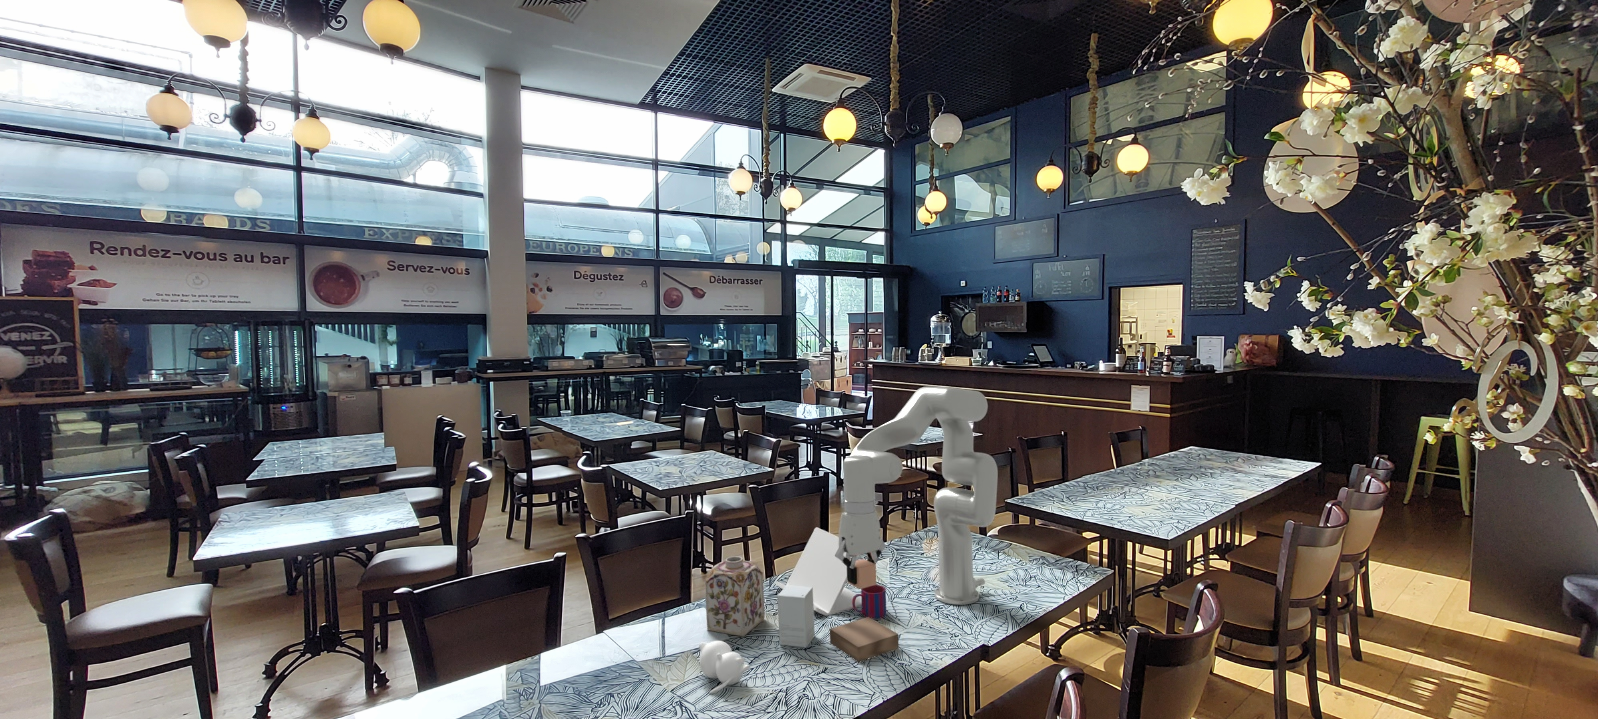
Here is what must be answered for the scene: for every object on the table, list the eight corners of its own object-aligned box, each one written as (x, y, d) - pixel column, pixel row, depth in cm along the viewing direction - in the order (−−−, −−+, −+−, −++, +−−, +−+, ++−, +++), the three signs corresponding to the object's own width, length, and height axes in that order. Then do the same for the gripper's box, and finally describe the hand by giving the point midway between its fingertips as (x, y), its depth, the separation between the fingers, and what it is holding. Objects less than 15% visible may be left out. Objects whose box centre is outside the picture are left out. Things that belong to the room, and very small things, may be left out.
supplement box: (815, 635, 166) (814, 586, 166) (806, 648, 159) (804, 597, 159) (788, 632, 169) (786, 583, 169) (778, 644, 162) (776, 594, 162)
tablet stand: (824, 578, 207) (822, 525, 207) (870, 604, 186) (868, 545, 185) (774, 590, 198) (772, 535, 198) (816, 619, 177) (814, 557, 176)
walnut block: (868, 632, 168) (868, 616, 168) (898, 650, 158) (898, 633, 158) (830, 644, 162) (829, 628, 162) (858, 663, 152) (858, 647, 152)
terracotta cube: (864, 578, 163) (863, 558, 163) (876, 584, 159) (875, 564, 159) (847, 582, 160) (847, 562, 160) (859, 588, 156) (859, 568, 156)
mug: (890, 615, 177) (889, 591, 177) (857, 622, 173) (856, 597, 173) (879, 606, 183) (878, 582, 183) (847, 612, 180) (846, 588, 179)
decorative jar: (765, 619, 177) (763, 554, 176) (744, 637, 166) (742, 568, 166) (728, 613, 182) (725, 549, 182) (705, 630, 171) (702, 562, 171)
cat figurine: (742, 645, 142) (709, 627, 151) (709, 686, 136) (677, 665, 145) (758, 670, 146) (726, 651, 154) (727, 711, 140) (695, 689, 148)
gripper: (877, 498, 167) (879, 569, 167) (822, 508, 158) (824, 583, 158) (896, 504, 160) (898, 577, 161) (839, 515, 152) (841, 592, 152)
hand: (861, 579), depth 160 cm, fingers closed on terracotta cube, 4 cm apart
